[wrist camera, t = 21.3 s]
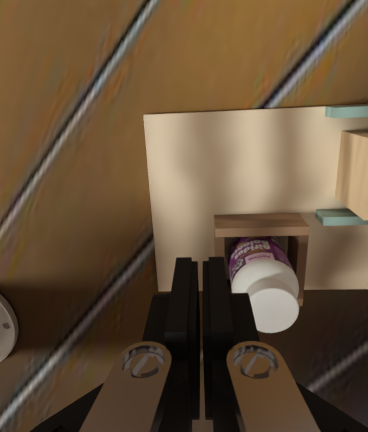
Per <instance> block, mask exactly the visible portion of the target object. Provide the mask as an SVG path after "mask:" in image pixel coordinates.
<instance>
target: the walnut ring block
mask: <svg viewBox="0 0 368 432" xmlns="http://www.w3.org/2000/svg"><path fill="white" fill-rule="evenodd" d="M309 227H310V226H309V225H308V224H307V223H306V221H305V220H304V219H303V218H302V216H301V215H300V214H299V213H266V214H228V215H214V252H215V257H224V262H225V244H224V237H250V236H288V250H287V258H288V261H289V262H290V264H291V267H292V268H293V271H294V273H295V275H296V277H297V280H298V284H299V293H298V297H297V302H298V305H299V306H303V295H304V284H305V273H306V261H307V250H308V239H309ZM227 285H228V293H232V290H231V281H230V280H227Z"/></svg>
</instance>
